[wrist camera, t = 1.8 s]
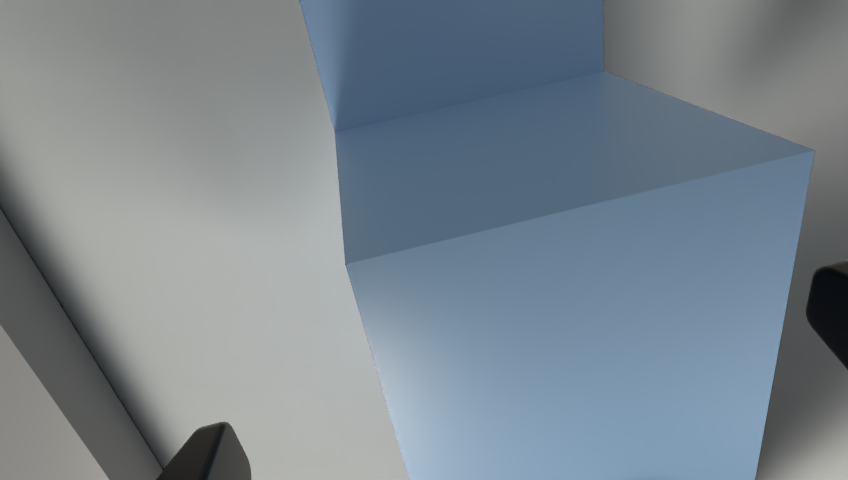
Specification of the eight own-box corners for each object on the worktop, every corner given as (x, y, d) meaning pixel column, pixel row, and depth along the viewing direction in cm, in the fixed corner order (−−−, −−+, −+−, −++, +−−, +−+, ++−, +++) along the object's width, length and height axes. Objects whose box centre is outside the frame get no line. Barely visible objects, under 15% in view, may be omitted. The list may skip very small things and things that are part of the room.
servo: (539, -76, 9) (961, -153, 3) (570, 404, 14) (746, 713, 8) (299, -27, 9) (253, -10, 3) (422, 444, 14) (495, 791, 8)
